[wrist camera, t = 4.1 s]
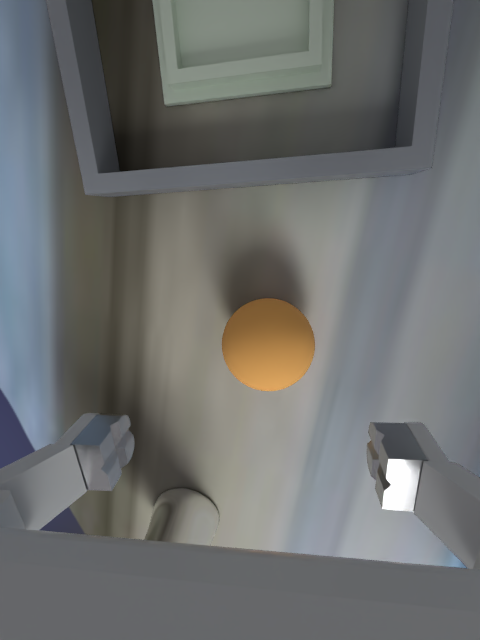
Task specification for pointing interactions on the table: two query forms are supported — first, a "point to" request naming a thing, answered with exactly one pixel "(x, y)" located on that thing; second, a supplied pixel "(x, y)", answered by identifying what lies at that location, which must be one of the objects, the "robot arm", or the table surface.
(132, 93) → the table surface
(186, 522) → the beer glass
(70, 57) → the low wall pen
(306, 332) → the ball
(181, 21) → the resting pad
